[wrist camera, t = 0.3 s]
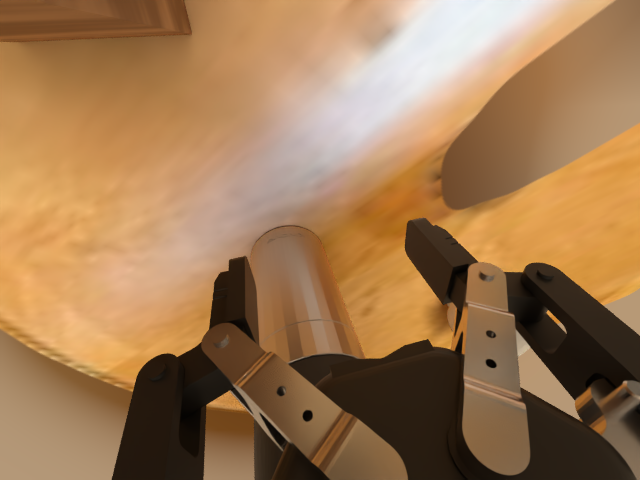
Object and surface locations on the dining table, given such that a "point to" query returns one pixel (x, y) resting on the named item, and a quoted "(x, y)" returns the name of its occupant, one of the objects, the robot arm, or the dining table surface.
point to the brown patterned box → (90, 19)
